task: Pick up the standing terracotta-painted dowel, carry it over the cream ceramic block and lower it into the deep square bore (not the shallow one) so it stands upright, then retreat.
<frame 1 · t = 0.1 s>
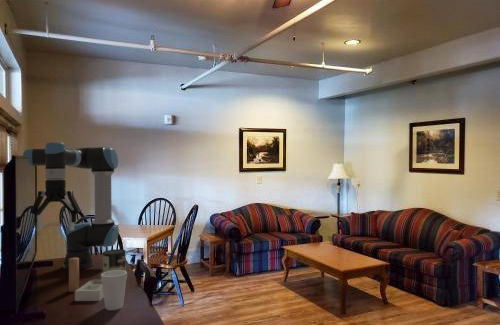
hand: (55, 230, 159), 28 cm above the table, fingers open, 13 cm apart
coffee can: (114, 281, 180), on the table
foam cup: (114, 307, 146), on the table
bore block: (95, 294, 162), on the table
pin: (74, 290, 167), on the table
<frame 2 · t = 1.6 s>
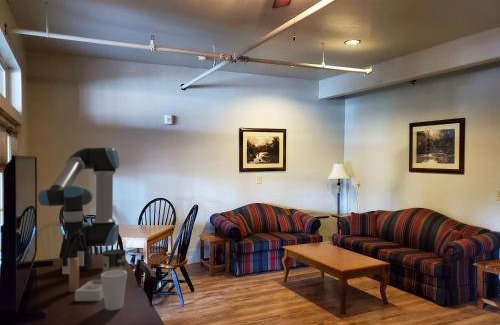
hand: (73, 269, 166), 9 cm above the table, fingers open, 13 cm apart
nothing on the table moved.
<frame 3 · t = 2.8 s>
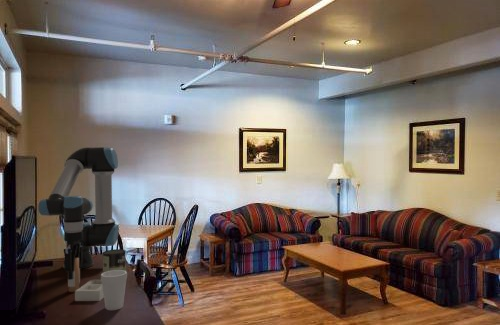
hand: (74, 284, 167), 3 cm above the table, fingers closed on pin, 4 cm apart
pin: (74, 290, 167), on the table, touching gripper
everything else where it was.
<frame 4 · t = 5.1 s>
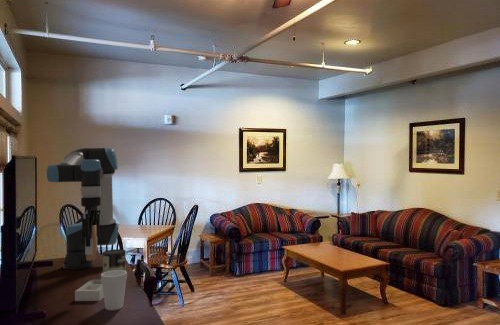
hand: (91, 252, 158), 18 cm above the table, fingers closed on pin, 4 cm apart
pin: (91, 259, 158), point 16 cm above the table, touching gripper
everything else where it was.
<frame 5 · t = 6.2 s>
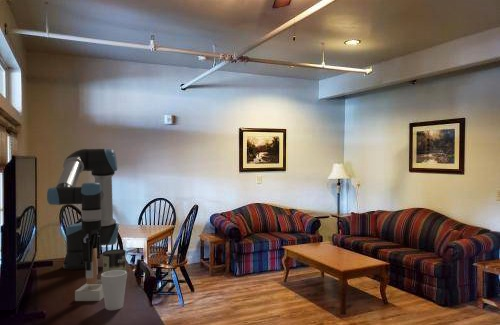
hand: (91, 276, 158), 9 cm above the table, fingers closed on pin, 4 cm apart
pin: (91, 282, 158), point 6 cm above the table, touching gripper
everything else where it was.
when the fingers open (5 cm above the table, at t = 7.2 s): pin drops 1 cm, resting on bore block.
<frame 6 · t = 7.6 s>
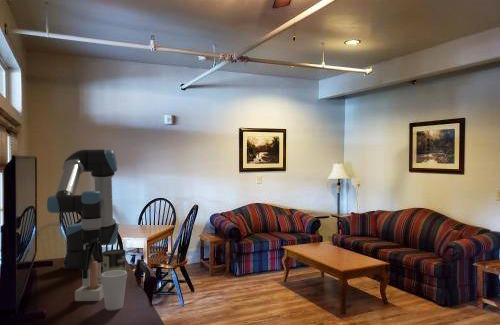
hand: (91, 281, 158), 6 cm above the table, fingers open, 10 cm apart
pin: (92, 295, 158), point 1 cm above the table, touching bore block
everything else where it was.
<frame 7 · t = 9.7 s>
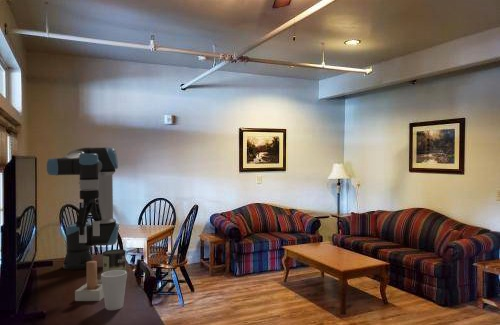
hand: (89, 239, 163), 23 cm above the table, fingers open, 13 cm apart
nothing on the table moved.
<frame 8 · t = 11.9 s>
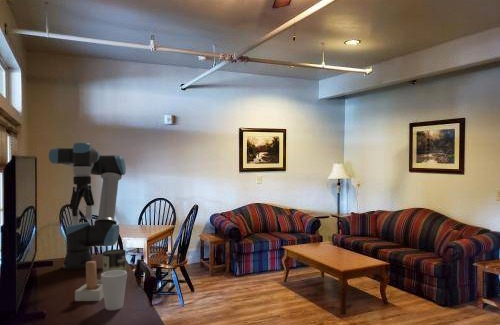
hand: (82, 221, 178), 29 cm above the table, fingers open, 13 cm apart
nothing on the table moved.
at the end: pin 0.0 cm from the target spot on the bore block, point 0.5 cm above the bore block's base; pin tilted 1°; the gripper is holding nothing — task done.
